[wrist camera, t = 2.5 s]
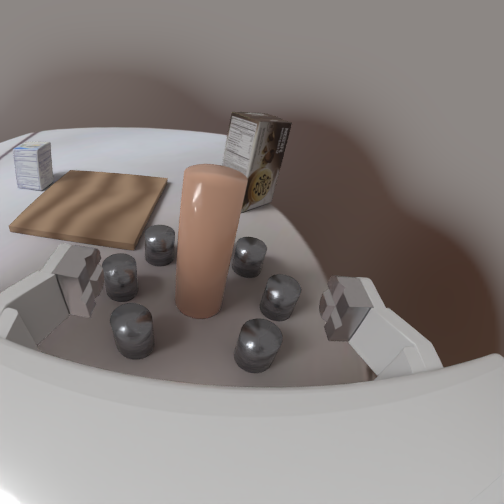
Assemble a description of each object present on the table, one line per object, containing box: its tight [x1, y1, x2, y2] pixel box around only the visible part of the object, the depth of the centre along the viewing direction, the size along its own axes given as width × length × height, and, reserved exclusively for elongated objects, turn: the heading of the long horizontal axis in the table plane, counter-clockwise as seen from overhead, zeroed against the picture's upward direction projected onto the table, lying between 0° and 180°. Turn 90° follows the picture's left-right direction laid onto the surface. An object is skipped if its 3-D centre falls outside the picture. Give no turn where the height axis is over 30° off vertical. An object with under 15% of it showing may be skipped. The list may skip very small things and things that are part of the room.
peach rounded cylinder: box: [175, 164, 248, 319], centre depth 25 cm, size 5×5×14 cm
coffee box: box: [222, 112, 292, 213], centre depth 46 cm, size 9×6×16 cm
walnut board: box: [9, 170, 168, 250], centre depth 40 cm, size 22×22×1 cm
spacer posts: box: [102, 225, 301, 373], centre depth 29 cm, size 21×19×4 cm
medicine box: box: [13, 142, 53, 191], centre depth 38 cm, size 8×4×9 cm, turn 88°
